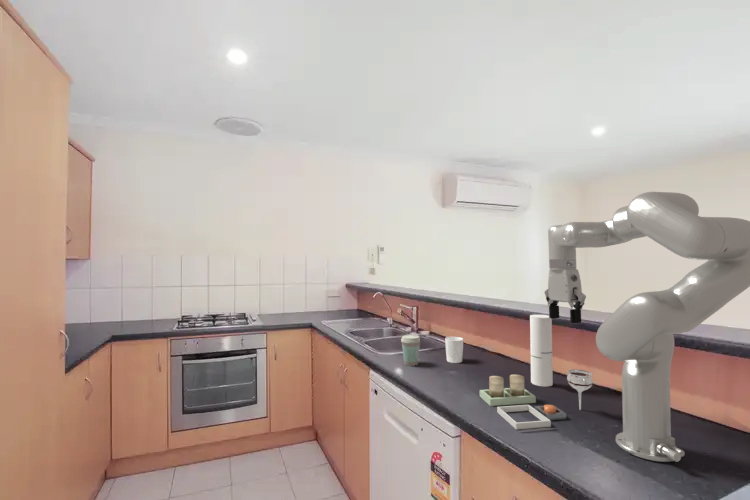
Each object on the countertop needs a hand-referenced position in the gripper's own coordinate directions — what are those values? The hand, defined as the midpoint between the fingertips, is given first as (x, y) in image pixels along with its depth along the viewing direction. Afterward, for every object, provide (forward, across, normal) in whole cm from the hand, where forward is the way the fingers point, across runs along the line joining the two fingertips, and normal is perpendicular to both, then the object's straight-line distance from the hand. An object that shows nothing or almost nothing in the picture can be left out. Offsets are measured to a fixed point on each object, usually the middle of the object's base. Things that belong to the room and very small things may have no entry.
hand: (564, 320), depth 116 cm
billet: (+26, +8, +19) cm, 33 cm away
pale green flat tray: (+27, +8, +15) cm, 32 cm away
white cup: (+26, +55, +14) cm, 63 cm away
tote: (+27, -5, +18) cm, 33 cm away
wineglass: (+27, -3, -2) cm, 28 cm away
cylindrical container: (+27, +20, -5) cm, 33 cm away
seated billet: (+26, +8, +12) cm, 30 cm away
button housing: (+27, -5, +10) cm, 29 cm away
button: (+26, -5, +9) cm, 28 cm away
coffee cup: (+26, +55, +34) cm, 70 cm away
